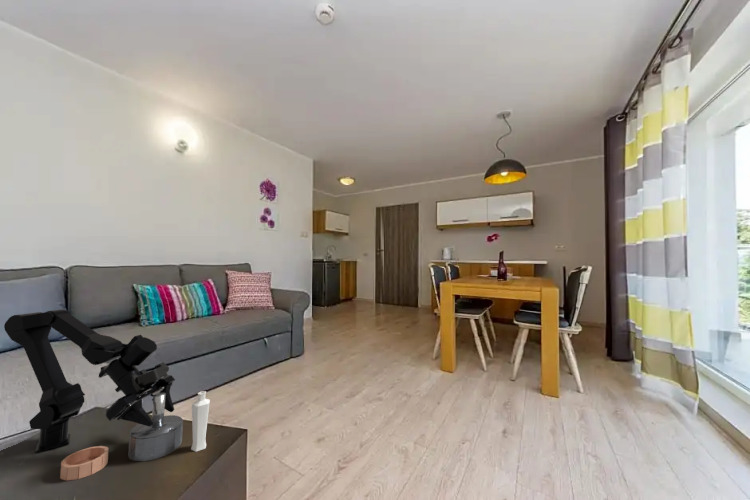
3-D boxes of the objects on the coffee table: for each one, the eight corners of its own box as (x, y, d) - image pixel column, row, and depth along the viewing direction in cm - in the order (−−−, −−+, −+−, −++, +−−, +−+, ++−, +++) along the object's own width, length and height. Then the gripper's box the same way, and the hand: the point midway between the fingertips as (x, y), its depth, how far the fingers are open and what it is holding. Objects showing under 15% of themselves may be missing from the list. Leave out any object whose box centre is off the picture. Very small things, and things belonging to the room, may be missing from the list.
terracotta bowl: (61, 467, 76) (62, 455, 76) (106, 454, 82) (107, 442, 82) (59, 485, 70) (60, 471, 70) (108, 469, 75) (109, 456, 76)
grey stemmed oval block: (126, 446, 85) (130, 393, 86) (176, 431, 93) (179, 383, 94) (131, 467, 76) (135, 408, 77) (185, 448, 85) (188, 395, 86)
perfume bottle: (200, 453, 83) (203, 396, 84) (186, 451, 83) (189, 395, 84) (212, 444, 87) (215, 390, 88) (199, 442, 88) (202, 389, 89)
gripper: (120, 367, 77) (159, 412, 76) (171, 348, 96) (203, 385, 95) (87, 398, 77) (126, 444, 76) (145, 373, 96) (177, 410, 95)
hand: (162, 417), depth 85 cm, fingers open, 8 cm apart
